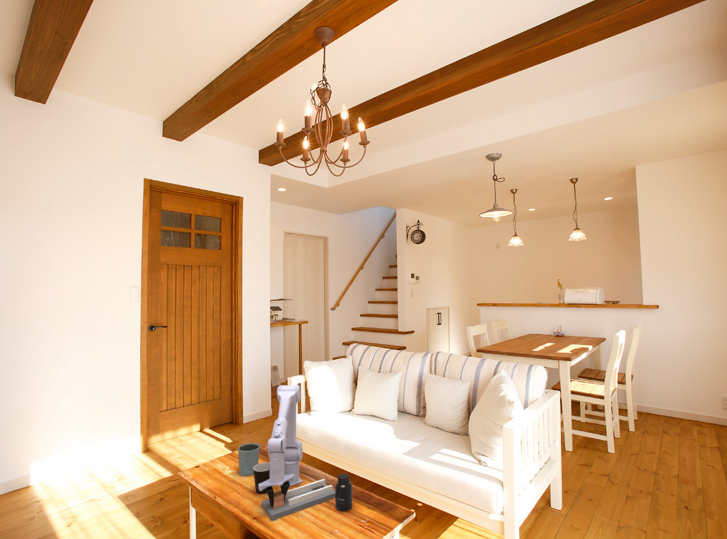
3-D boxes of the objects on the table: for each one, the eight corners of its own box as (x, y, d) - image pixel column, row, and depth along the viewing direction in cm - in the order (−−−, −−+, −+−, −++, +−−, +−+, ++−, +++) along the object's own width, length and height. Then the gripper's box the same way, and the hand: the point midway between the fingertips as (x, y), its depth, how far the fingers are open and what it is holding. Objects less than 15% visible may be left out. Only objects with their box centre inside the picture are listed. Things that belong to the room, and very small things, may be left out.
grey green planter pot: (236, 470, 185) (236, 445, 185) (258, 465, 189) (257, 441, 190) (239, 479, 175) (239, 452, 176) (261, 474, 180) (261, 448, 180)
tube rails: (282, 497, 155) (282, 492, 155) (324, 483, 165) (324, 478, 166) (289, 505, 148) (289, 500, 149) (332, 490, 159) (332, 485, 159)
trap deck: (261, 506, 152) (261, 501, 152) (322, 485, 167) (322, 481, 168) (271, 521, 142) (271, 515, 142) (336, 497, 158) (336, 492, 158)
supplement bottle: (337, 513, 146) (336, 481, 147) (333, 503, 153) (333, 473, 153) (354, 510, 148) (353, 478, 149) (350, 501, 155) (349, 471, 155)
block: (270, 503, 150) (270, 493, 150) (280, 500, 152) (280, 490, 153) (274, 508, 147) (274, 497, 147) (283, 505, 149) (284, 494, 149)
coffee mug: (268, 496, 160) (267, 472, 160) (249, 494, 161) (249, 470, 162) (279, 482, 171) (279, 460, 172) (262, 481, 173) (261, 459, 173)
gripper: (262, 477, 143) (262, 514, 142) (297, 466, 151) (298, 501, 150) (256, 470, 149) (256, 505, 148) (291, 460, 157) (291, 494, 156)
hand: (277, 503), depth 150 cm, fingers closed on block, 4 cm apart
